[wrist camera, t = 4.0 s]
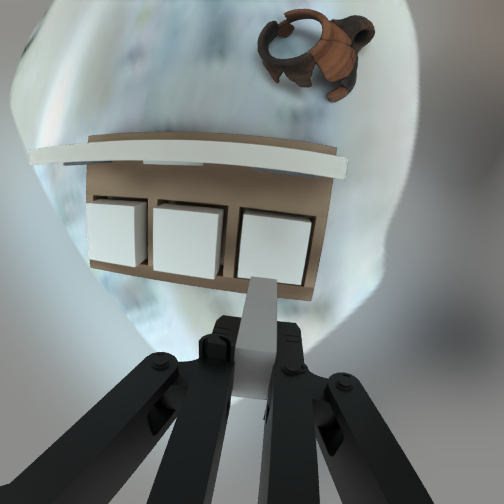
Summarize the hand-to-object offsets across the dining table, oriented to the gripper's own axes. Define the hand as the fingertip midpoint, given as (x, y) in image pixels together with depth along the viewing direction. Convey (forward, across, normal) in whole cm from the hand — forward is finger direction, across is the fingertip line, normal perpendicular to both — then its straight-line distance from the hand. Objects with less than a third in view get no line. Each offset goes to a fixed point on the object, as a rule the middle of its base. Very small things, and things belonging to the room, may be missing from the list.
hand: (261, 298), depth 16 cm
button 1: (+11, -15, 0) cm, 19 cm away
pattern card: (+10, -7, +8) cm, 15 cm away
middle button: (+11, -7, 0) cm, 13 cm away
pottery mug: (+15, +4, +20) cm, 25 cm away
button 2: (+12, +1, 0) cm, 12 cm away
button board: (+14, -7, +2) cm, 16 cm away
